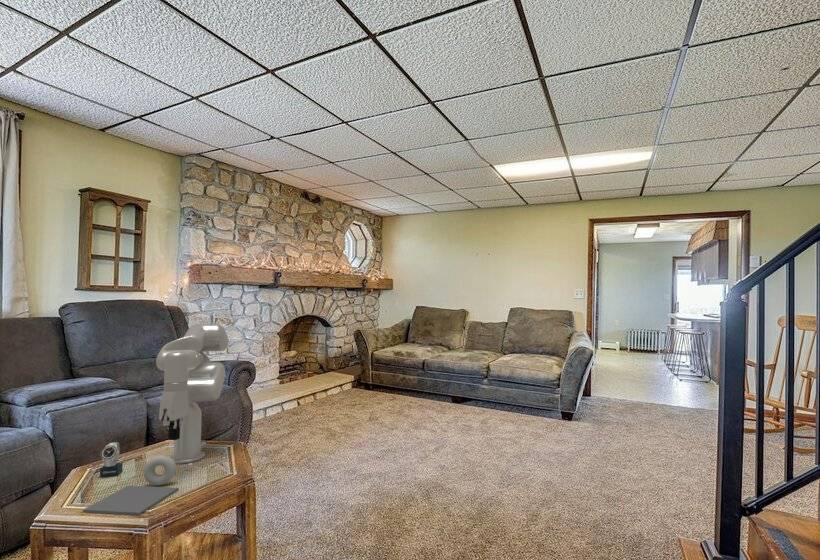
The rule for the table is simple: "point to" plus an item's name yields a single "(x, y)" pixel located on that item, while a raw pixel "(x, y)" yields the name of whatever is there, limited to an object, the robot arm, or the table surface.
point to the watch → (111, 461)
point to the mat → (131, 500)
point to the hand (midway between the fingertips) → (174, 439)
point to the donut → (155, 478)
